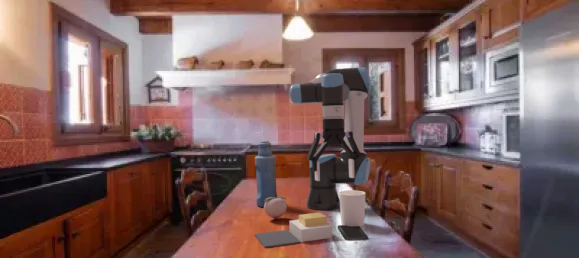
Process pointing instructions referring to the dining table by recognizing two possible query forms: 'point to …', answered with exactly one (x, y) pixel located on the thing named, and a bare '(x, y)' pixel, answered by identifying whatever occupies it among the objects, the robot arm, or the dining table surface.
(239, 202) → the dining table surface
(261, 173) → the bottle
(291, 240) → the dark grey mat
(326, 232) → the white stand
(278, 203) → the decorative fruit
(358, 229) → the phone
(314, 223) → the ochre tile
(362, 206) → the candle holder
